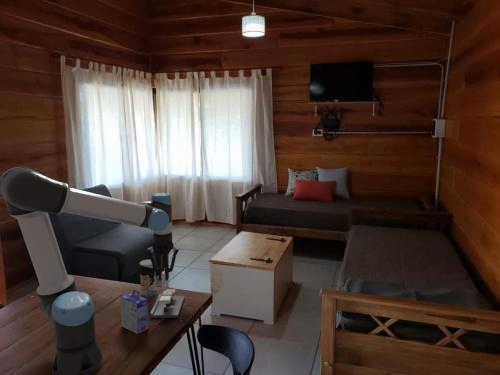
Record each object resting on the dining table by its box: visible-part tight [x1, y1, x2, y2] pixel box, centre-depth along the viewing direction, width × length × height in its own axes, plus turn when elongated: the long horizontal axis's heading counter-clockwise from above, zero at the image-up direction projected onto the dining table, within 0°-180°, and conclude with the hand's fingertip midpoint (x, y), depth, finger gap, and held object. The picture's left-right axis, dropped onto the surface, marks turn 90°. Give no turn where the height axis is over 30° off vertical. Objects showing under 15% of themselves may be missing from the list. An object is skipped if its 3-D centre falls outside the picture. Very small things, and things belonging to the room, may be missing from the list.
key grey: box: [161, 289, 173, 298], centre depth 160 cm, size 4×4×1 cm
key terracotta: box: [166, 288, 177, 296], centre depth 165 cm, size 4×4×1 cm
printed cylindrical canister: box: [139, 259, 157, 298], centre depth 173 cm, size 7×7×15 cm
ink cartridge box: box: [120, 289, 149, 335], centre depth 145 cm, size 10×6×14 cm, turn 55°
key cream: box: [159, 296, 171, 304], centre depth 155 cm, size 4×4×1 cm
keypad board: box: [149, 293, 185, 319], centre depth 161 cm, size 17×11×2 cm, turn 1°
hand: (164, 287), depth 156 cm, fingers closed
